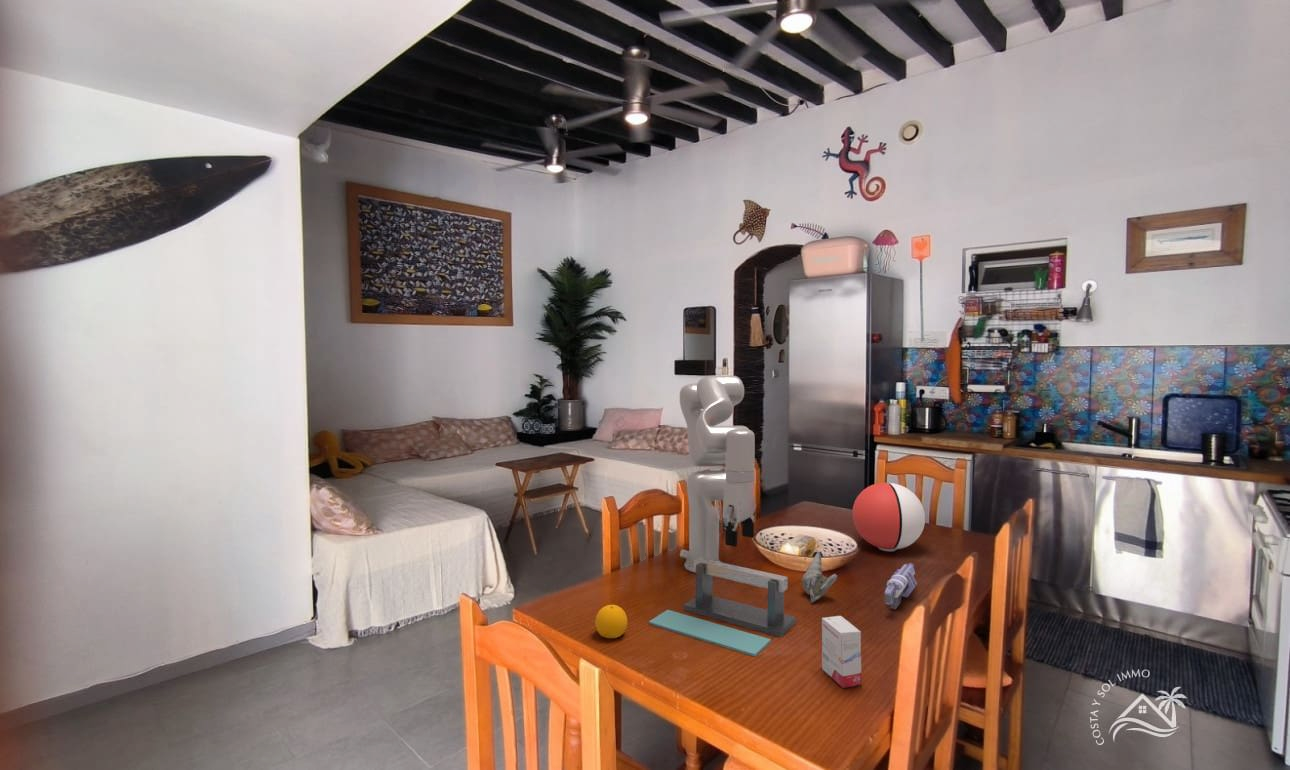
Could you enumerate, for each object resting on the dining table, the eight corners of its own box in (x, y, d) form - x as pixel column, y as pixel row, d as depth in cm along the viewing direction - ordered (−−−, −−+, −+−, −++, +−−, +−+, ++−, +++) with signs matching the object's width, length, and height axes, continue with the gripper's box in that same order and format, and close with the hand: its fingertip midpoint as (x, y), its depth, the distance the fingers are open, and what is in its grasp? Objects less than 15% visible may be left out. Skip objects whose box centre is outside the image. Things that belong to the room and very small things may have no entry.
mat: (648, 623, 162) (648, 621, 162) (667, 611, 169) (667, 609, 169) (755, 656, 145) (755, 654, 145) (771, 641, 152) (771, 639, 152)
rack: (683, 610, 170) (684, 565, 170) (702, 598, 178) (702, 555, 178) (780, 637, 154) (781, 587, 153) (796, 622, 162) (796, 575, 162)
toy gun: (923, 588, 186) (924, 561, 185) (901, 622, 163) (902, 592, 163) (897, 583, 190) (898, 557, 190) (872, 615, 167) (873, 585, 167)
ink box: (862, 686, 132) (863, 631, 131) (840, 689, 131) (841, 634, 130) (840, 665, 141) (841, 614, 140) (820, 668, 139) (820, 616, 139)
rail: (693, 571, 172) (693, 560, 172) (699, 568, 174) (699, 557, 174) (783, 592, 157) (783, 580, 157) (787, 588, 160) (787, 577, 159)
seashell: (793, 600, 177) (794, 565, 176) (814, 582, 191) (815, 549, 190) (828, 608, 171) (829, 573, 170) (847, 589, 185) (848, 556, 184)
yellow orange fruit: (622, 626, 161) (622, 597, 160) (631, 639, 153) (631, 610, 153) (592, 630, 158) (591, 601, 158) (599, 644, 150) (599, 614, 150)
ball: (908, 539, 234) (935, 560, 210) (843, 538, 234) (864, 559, 211) (909, 476, 232) (937, 490, 209) (844, 476, 233) (865, 490, 209)
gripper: (741, 470, 173) (741, 531, 174) (711, 480, 159) (711, 546, 160) (767, 473, 169) (766, 535, 170) (738, 483, 155) (737, 551, 155)
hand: (739, 540), depth 165 cm, fingers open, 9 cm apart
